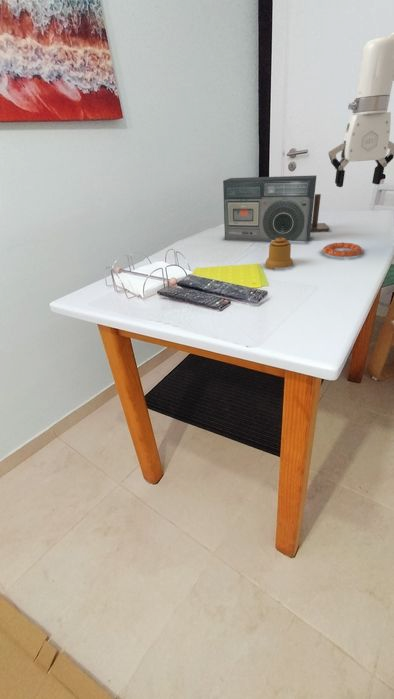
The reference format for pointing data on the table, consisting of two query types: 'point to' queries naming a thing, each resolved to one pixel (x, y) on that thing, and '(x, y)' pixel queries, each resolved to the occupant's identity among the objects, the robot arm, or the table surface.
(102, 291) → the table surface
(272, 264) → the ornamental finial
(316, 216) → the wooden bookend
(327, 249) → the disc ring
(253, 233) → the cassette player
